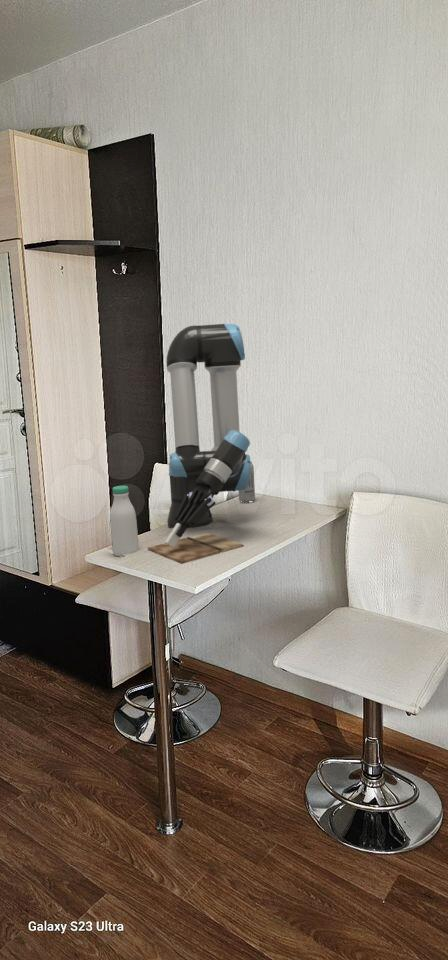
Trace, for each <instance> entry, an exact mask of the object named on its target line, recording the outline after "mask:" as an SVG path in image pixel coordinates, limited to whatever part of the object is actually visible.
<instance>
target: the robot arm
mask: <svg viewBox="0 0 448 960" xmlns="http://www.w3.org/2000/svg"><path fill="white" fill-rule="evenodd" d="M244 346H245V344H244V340H243V336H242V332H241V329H240V327H239V326H238V325H237V324H235V323H217V324H216V323H215V324H201V325H189V326H187V327H185V328H183V329H181V331H179V332H178V333H177V334H176V335H175V337H174V338H173V339H172V341H171V343H170V345H169V347H168V350H167V355H166V371H167V372H168V373H170V387H171V389H170V391H171V401H172V403H171V404H172V417H173V433H174V435H173V436H174V447H175V450H174V451H175V452H174V453H173V452H172V453H170V455H169V465H168V476H169V483H170V484H169V485H170V489H169V490H170V499H171V501H170V502H171V503H170V507H169V512H168V516H167V528H169V529H172V530H171V531H170V533H169V534H168V536H167V537H166V539H165V540H164V543H167V544H168V545H169V546H171V547H173V548H174V547H175V545H176V544H177V542H178V540H179V539H181V537H183V535H184V534H185V532H186V531H187V529H193V528H199V527H204V526H208V525H209V524H211V523H213V522H214V517H213V514H212V512H211V508H213V507H214V506H215V505H216V501H214V500H213V498H214V496H217V495H218V494H220V493H222V492H237V491H238V492H239V490H244V489H246V488H247V486H248V484H249V478H250V461H251V456H250V455H249V454H248V453H247V454H246V452H247V451H248V448H250V445H251V442H250V441H251V440H249V438H248V437H247V436H246V435H245V434H243V433H242V432H240V430H241V429H240V417H239V416H240V415H239V397H238V396H239V395H238V377H237V376H238V375H237V371H238V370H239V369H240V367H241V365H242V364H241V363H242V362H241V361H244V360H245V359H246V353H245V347H244ZM198 363H204V369H205V370H206V371H207V372H208V373H209V380H210V397H211V411H212V412H211V413H212V414H211V415H212V430H213V448H211V450H207V451H205V450H204V451H203V450H202V451H201V448H200V436H199V435H200V433H199V421H198V410H197V409H198V406H197V405H198V404H197V395H196V394H197V393H196V392H197V391H196V379H195V372H196V371H197V369H198V365H197V364H198Z"/></svg>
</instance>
